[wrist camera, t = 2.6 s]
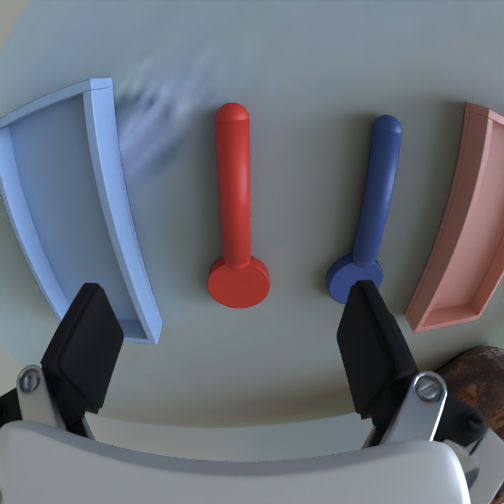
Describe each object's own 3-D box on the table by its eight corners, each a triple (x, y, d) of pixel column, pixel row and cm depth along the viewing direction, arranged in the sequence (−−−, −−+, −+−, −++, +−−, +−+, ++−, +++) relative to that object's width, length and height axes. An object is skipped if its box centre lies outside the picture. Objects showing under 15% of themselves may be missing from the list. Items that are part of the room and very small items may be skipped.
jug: (507, 345, 30) (548, 448, 9) (425, 407, 39) (450, 506, 19) (491, 309, 22) (559, 472, 2) (371, 399, 32) (397, 547, 11)
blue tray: (8, 118, 10) (-14, 126, 9) (112, 77, 11) (91, 78, 9) (75, 315, 21) (66, 333, 19) (163, 322, 21) (157, 345, 19)
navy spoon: (349, 107, 12) (361, 110, 11) (411, 119, 12) (426, 124, 11) (322, 297, 19) (326, 313, 18) (370, 294, 19) (377, 309, 18)
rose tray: (465, 101, 11) (488, 108, 9) (527, 135, 11) (546, 144, 9) (403, 314, 21) (413, 333, 19) (468, 303, 21) (478, 319, 19)
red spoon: (193, 104, 12) (186, 106, 11) (273, 101, 12) (276, 103, 11) (212, 299, 19) (209, 315, 18) (267, 299, 19) (269, 315, 18)
